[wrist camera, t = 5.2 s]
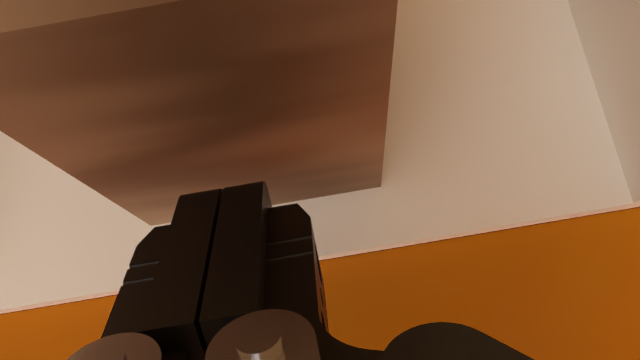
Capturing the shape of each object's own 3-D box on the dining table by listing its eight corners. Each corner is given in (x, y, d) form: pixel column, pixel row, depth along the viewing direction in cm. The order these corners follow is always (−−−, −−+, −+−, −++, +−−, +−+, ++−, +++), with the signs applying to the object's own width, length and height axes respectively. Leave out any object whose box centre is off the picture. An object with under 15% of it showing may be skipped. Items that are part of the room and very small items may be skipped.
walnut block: (150, 226, 15) (-122, 54, 7) (136, 24, 17) (-94, -314, 9) (381, 186, 15) (401, -40, 7) (342, -12, 17) (318, -394, 8)
